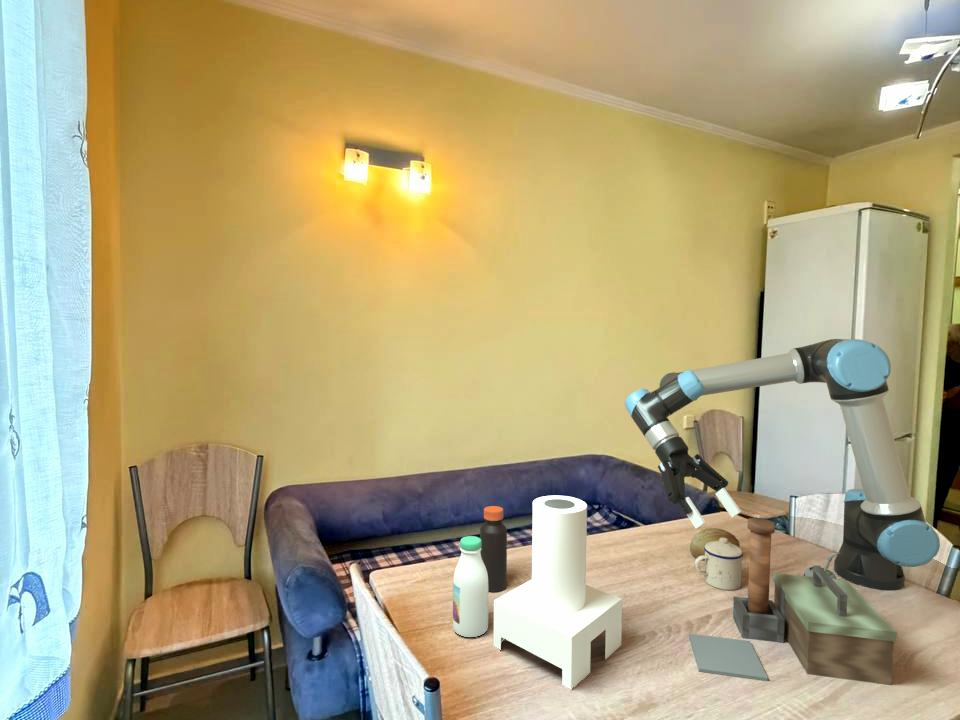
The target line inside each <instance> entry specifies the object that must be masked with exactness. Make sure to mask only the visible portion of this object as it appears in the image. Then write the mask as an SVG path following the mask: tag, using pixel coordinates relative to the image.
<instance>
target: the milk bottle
mask: <svg viewBox="0 0 960 720" xmlns="http://www.w3.org/2000/svg"><path fill="white" fill-rule="evenodd" d="M481 545H482V543H481V539H480V537H478V536H475V535H474V536H473V535H469V536H468V535H467V536H464V537H462V538H461V539H460V541H459V547H460V548H459V550H460V551H461V553H460V557H459V560H458V562H457V564H456V566H455V569H454V573H453V579H452V580H453V581H452V629H453V631H454V633H455V632H456V633H457V634H459V635H461V636H464V637H476V636H480V635H482V634H484V633H485V632H486V631H488V629H489V592H488V574H487V570H486V567H485V565H484V563H483V560H482V558H481V554H480V551H481ZM456 633H455V634H456ZM486 633H487V632H486ZM486 633H485V634H486ZM457 634H456V635H457ZM485 634H484V635H485ZM459 635H458V636H459ZM461 636H460V637H461ZM482 636H483V635H482ZM464 637H463V638H464ZM480 637H481V636H480ZM476 638H477V637H476Z"/></svg>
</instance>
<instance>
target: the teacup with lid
mask: <svg viewBox="0 0 960 720" xmlns="http://www.w3.org/2000/svg"><path fill="white" fill-rule="evenodd" d="M704 550H705V555H702V556H699V557H698V558H695V561H694V567H695V571H697V573H699V574H700V575H702V576H703V577H704V578H703V579H704V581H705V583H707V584H708V585H709V586H711V587H713V588H716V589H719V590H723V591H735V590H738V589H740V588H741V585H742V560H743V556H744V553H743V551H742V549H741V547H740V548H739V547H737V546H735V545H733V544H731V543H729V542H728V540H727V539H726V538H720V539H719V541H713V542H709V543H707V544H706V545H705V547H704ZM703 560H704V570H703V571H702V570H701V569H700V562H702V561H703Z"/></svg>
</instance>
